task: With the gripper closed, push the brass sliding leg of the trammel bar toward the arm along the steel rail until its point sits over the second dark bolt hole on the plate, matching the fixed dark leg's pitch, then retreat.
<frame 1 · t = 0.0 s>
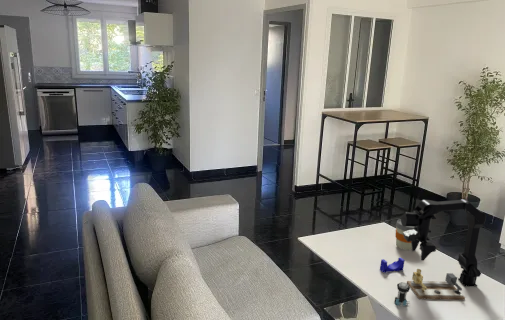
hand: (417, 255, 188), 15 cm above the table, fingers open, 9 cm apart
sliding leg: (420, 280, 183), point 6 cm above the table, slide at 1.0 cm
reusable coffee cup: (403, 246, 230), on the table
fixed leg: (452, 291, 186), resting on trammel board
cable clip: (390, 269, 203), on the table
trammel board: (434, 291, 186), on the table
push button: (401, 304, 174), on the table
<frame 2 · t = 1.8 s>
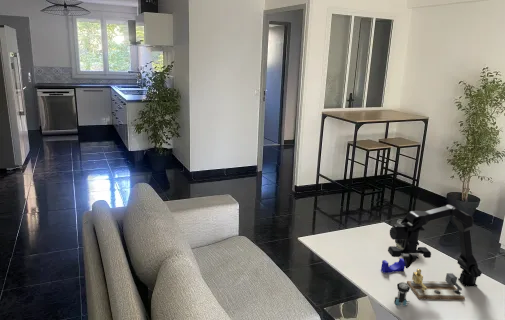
hand: (406, 267, 185), 10 cm above the table, fingers closed
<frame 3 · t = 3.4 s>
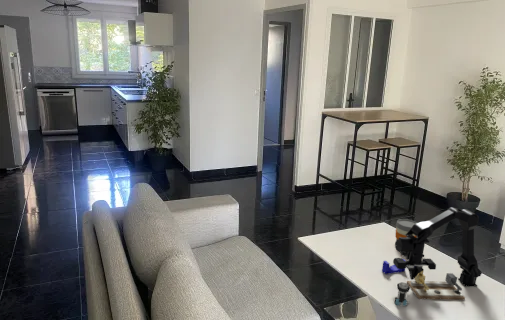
hand: (411, 279, 187), 4 cm above the table, fingers closed
sliding leg: (423, 280, 183), point 6 cm above the table, slide at 2.1 cm, touching gripper
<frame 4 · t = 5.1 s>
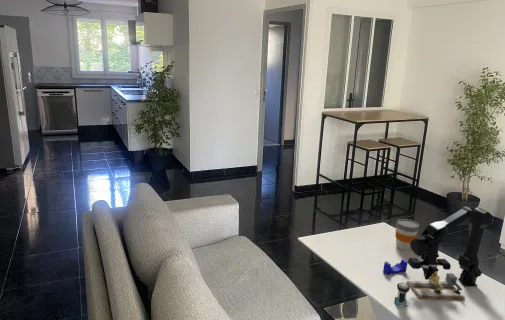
hand: (425, 279, 187), 4 cm above the table, fingers closed
sliding leg: (437, 280, 184), point 6 cm above the table, slide at 9.2 cm, touching gripper
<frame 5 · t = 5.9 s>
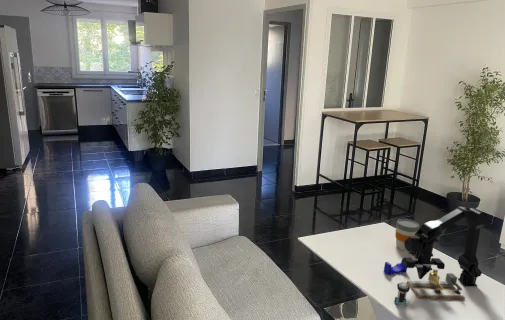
hand: (419, 278, 187), 5 cm above the table, fingers closed
sliding leg: (437, 280, 184), point 6 cm above the table, slide at 9.2 cm
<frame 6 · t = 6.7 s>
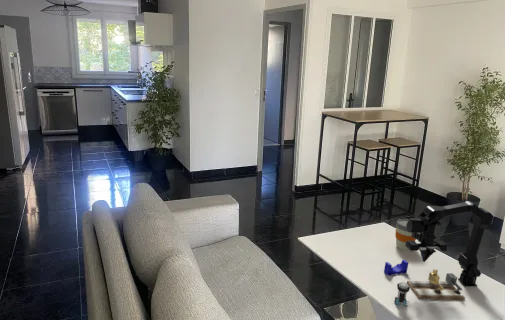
hand: (423, 261, 190), 12 cm above the table, fingers closed
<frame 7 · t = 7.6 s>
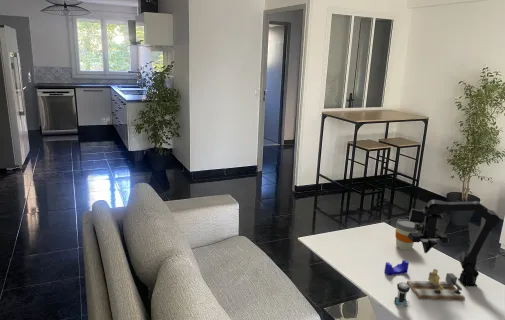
hand: (425, 252, 197), 12 cm above the table, fingers closed
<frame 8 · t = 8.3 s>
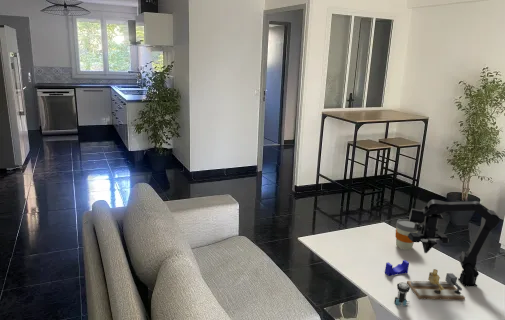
hand: (425, 252, 197), 12 cm above the table, fingers closed
at the end: sliding leg slide at 9.2 cm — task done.
